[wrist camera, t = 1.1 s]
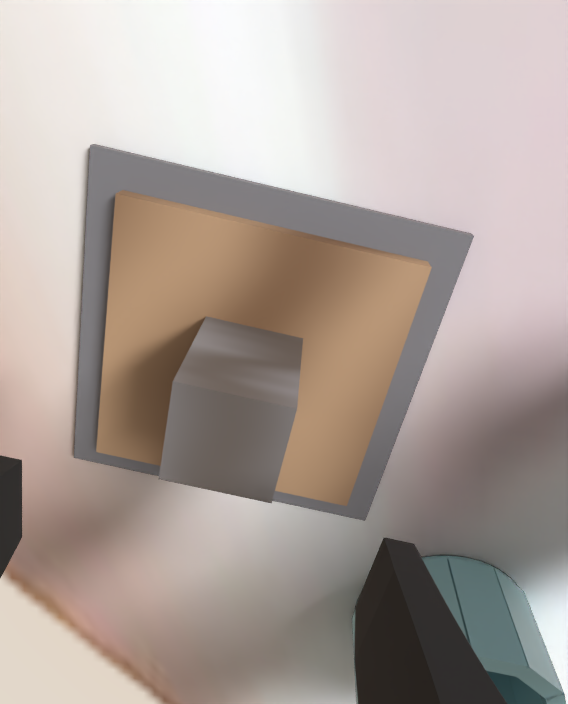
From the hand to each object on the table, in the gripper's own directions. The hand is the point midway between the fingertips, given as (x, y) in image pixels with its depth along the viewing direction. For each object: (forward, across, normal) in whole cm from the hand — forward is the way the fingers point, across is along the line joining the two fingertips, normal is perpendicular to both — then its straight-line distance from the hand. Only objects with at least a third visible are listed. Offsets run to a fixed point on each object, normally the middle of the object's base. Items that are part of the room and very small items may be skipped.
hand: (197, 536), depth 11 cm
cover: (+8, 0, 0) cm, 8 cm away
